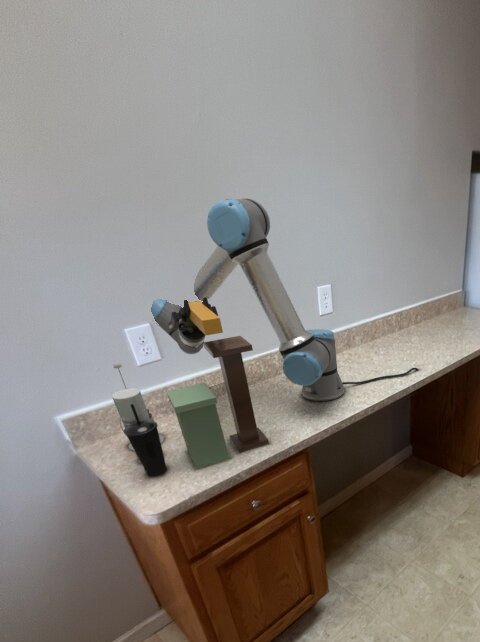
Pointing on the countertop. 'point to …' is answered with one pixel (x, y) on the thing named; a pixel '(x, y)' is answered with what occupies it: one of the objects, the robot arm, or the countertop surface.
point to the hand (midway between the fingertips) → (197, 304)
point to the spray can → (124, 409)
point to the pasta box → (204, 318)
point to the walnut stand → (237, 391)
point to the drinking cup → (147, 445)
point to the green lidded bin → (199, 424)
